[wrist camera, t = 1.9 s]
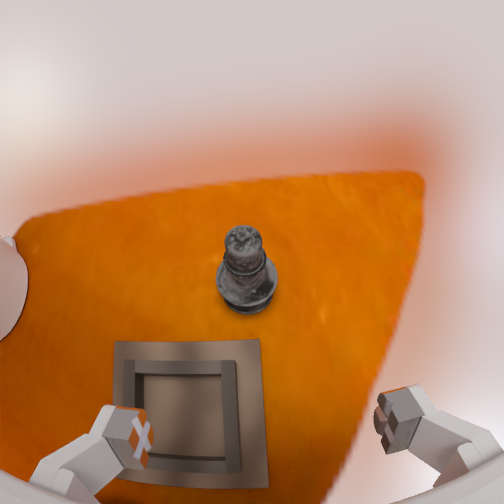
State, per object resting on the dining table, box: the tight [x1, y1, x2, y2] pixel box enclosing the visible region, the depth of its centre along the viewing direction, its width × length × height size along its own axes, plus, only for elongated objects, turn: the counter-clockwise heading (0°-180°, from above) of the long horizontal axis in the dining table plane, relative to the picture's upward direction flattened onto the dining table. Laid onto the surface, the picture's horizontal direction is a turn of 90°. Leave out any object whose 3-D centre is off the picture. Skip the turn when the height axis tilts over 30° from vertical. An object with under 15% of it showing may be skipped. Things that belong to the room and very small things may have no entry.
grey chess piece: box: [216, 225, 278, 315], centre depth 27 cm, size 6×6×12 cm
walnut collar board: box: [113, 339, 269, 489], centre depth 24 cm, size 15×15×4 cm
